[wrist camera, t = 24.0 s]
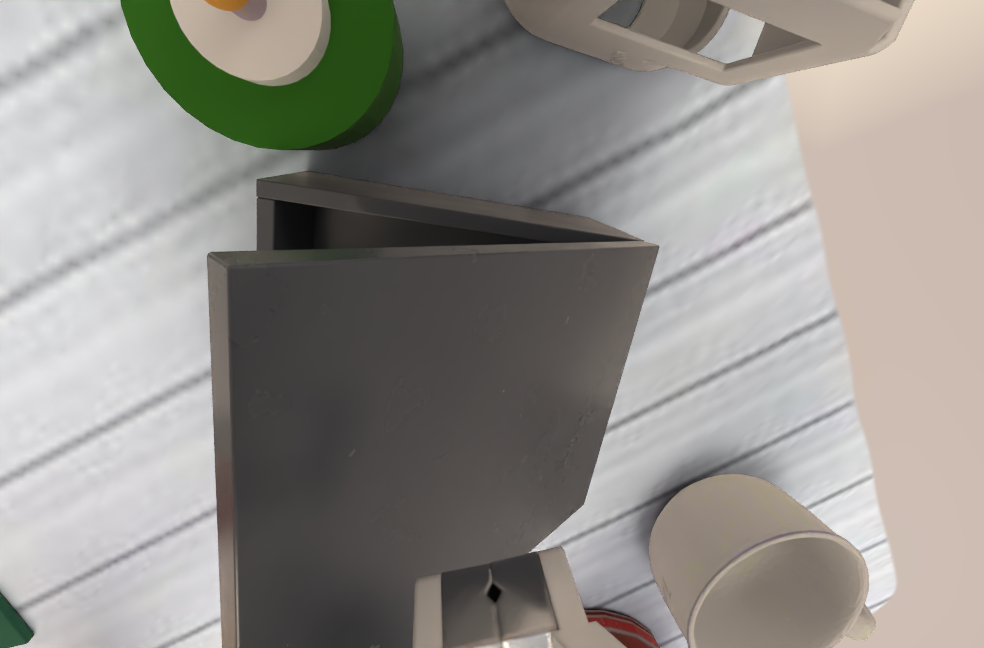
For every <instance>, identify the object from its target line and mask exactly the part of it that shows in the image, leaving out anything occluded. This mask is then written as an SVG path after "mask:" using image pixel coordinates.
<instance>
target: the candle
mask: <svg viewBox="0 0 984 648" xmlns="http://www.w3.org/2000/svg"><path fill="white" fill-rule="evenodd" d="M121 6H122V9H123V13H124V16H125V19H126V22H127V25H128V28H129V31H130V34H131V37H132V39H133V41H134V43H135V44H136V46H137V48H138V50H139V52H140V54H141V56H142V58H143V60H144V62H145V64H146V65H147V67H148V68H149V70H150V71H151V72H152V74H153V75H154V76H155V78H156V79H157V80H158V82H159V83H160V85H161V86H162V87H163V89H164V90H165V91H166V92H167V93H168V94H169V95H170V96H171V97H172V98H173V99H174V100H175V101H176V102H177V103H178V104H179V105H180V106H181V107H182V108H183V109H184V110H185V111H186V112H188V113H189V114H190V115H192V116H193V117H195V118H196V119H197V120H199V121H200V122H201V123H203V124H204V125H206V126H207V127H208V128H210V129H212V130H214V131H216V132H218V133H220V134H222V135H224V136H226V137H228V138H230V139H232V140H235V141H238V142H241V143H245V144H248V145H251V146H255V147H258V148H268V149H277V150H326V149H336V148H339V147H342V146H345V145H349V144H352V143H354V142H355V141H357V140H359V139H361V138H362V137H364V136H366V135H367V134H369V133H370V132H371V131H372V130H373V129H374V128H375V127H376V126H377V125H378V124H379V123H380V122H381V121H382V120H383V118H384V117H385V115H386V114H387V112H388V111H389V110H390V108H391V106H392V104H393V101H394V99H395V97H396V95H397V92H398V89H399V85H400V80H401V75H402V67H403V47H402V40H401V33H400V27H399V23H398V19H397V16H396V12H395V8H394V4H393V0H121Z"/></svg>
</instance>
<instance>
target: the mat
mask: <svg viewBox="0 0 984 648" xmlns="http://www.w3.org/2000/svg"><path fill="white" fill-rule="evenodd" d="M33 636H34V633H33V632H32V631H31V630H30V628H29V627H28V626H27V625H26V624H25V622H24V621H23V620H22V619H21V618H20V616H19V615H18V614H17V613H16V612H15V610H14V609H13V608H12V607H11V605H10V604H9V603H8V602H7V601H6V599H5V598H4V597H3V596H2V595H1V593H0V648H10V647H14V646H18V645H22V644H26V643H28V642H29V641H30V639H31V638H32V637H33Z"/></svg>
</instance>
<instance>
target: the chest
mask: <svg viewBox="0 0 984 648" xmlns="http://www.w3.org/2000/svg"><path fill="white" fill-rule="evenodd" d="M257 197H258V198H257V251H269V250H309V249H348V248H387V247H426V246H465V245H504V244H543V243H582V242H621V241H643V240H641V239H639V238H636V237H634V236H632V235H629V234H627V233H624V232H622V231H620V230H617V229H615V228H613V227H610V226H608V225H605V224H603V223H601V222H598V221H596V220H593V219H591V218H587V217H581V216H575V215H569V214H563V213H557V212H551V211H545V210H539V209H533V208H527V207H521V206H515V205H509V204H503V203H497V202H491V201H485V200H478V199H472V198H466V197H460V196H454V195H448V194H442V193H436V192H430V191H424V190H418V189H412V188H406V187H400V186H394V185H388V184H382V183H376V182H370V181H364V180H357V179H351V178H345V177H339V176H333V175H327V174H321V173H315V172H309V171H304V172H298V173H292V174H286V175H280V176H274V177H267V178H261V179H257ZM643 242H644V241H643Z"/></svg>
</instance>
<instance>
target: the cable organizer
mask: <svg viewBox="0 0 984 648" xmlns="http://www.w3.org/2000/svg"><path fill="white" fill-rule="evenodd" d="M504 1H505V3H506V5H507V7H508V9H509V10H510V12H511V14H512V15H513V16H514V18H515V19H516V20H517V21H518V22H519V24H520V25H522V26H523V27H524V28H525V29H526V30H527V31H528V32H530V33H532V34H533V35H535V36H536V37H538V38H541V39H543V40H545V41H548V42H551V43H554V44H557V45H560V46H563V47H566V48H569V49H572V50H575V51H578V52H581V53H583V54H586V55H589V56H592V57H595V58H598V59H601V60H604V61H607V62H610V63H611V64H614V65H618V66H621V67H624V68H627V69H631V70H635V71H654V70H658V69H661V68H665V67H667V66H669V67H671V68H674V69H677V70H680V71H683V72H686V73H689V74H691V75H694V76H697V77H700V78H703V79H706V80H709V81H711V82H714V83H717V84H721V85H736V84H740V83H745V82H750V81H754V80H759V79H764V78H768V77H773V76H777V75H782V74H787V73H791V72H796V71H800V70H805V69H810V68H814V67H819V66H824V65H828V64H833V63H837V62H842V61H847V60H851V59H856V58H860V57H865V56H870V55H873V54H876V53H878V52H880V51H881V50H883V49H885V48H886V47H887V46H889V45H890V44H891V43H893V42H894V41H895V40H896V38H897V36H898V34H899V32H900V30H901V28H902V25H903V24H904V21H905V19H906V17H907V15H908V13H909V11H910V9H911V7H912V5H913V3H914V1H915V0H643V3H642V6H641V9H640V11H639V13H638V15H637V17H636V19H635V20H634V22H633V23H632V24H631V25H630V27H629V28H625V27H622V26H619V25H617V24H614V23H611V22H608V21H606V20H603V19H600V18H597V17H599V16H600V15H601V14H602V13H604V12H605V11H606V10H607V9H609V8H610V7H611V6H612V5H614V4H615V3H616V2H617V1H619V0H504ZM729 9H733V10H735V11H738V12H741V13H743V14H746V15H748V16H751V17H753V18H756V19H758V20H761V21H764V22H765V24H764V27H763V30H762V32H761V35H760V37H759V40H758V42H757V45H756V47H755V50H754V53H753V55H752V57H749V58H745V59H742V60H739V61H735V62H732V63H728V64H726V63H722V62H719V61H716V60H713V59H711V58H708V57H705V56H702V55H699V54H697V52H699V51H700V50H701V49H703V48H704V47H705V46H706V45H707V44H708V43H709V42H710V41H711V40H712V38H713V37H714V36H715V35H716V33H717V32H718V30H719V29H720V27H721V26H722V24H723V22H724V20H725V18H726V16H727V14H728V12H729Z"/></svg>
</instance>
